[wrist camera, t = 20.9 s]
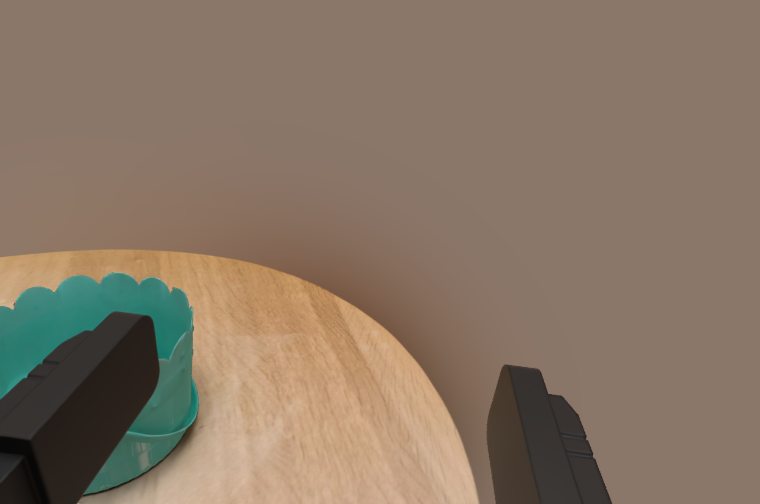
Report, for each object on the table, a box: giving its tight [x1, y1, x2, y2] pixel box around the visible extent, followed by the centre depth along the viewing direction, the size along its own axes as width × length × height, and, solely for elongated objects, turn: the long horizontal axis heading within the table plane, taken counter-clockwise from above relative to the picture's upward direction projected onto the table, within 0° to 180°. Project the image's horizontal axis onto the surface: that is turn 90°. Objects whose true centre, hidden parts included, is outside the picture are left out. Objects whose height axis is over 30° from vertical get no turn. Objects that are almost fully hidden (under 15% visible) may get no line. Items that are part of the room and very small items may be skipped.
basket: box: [0, 272, 199, 495], centre depth 47 cm, size 19×18×13 cm
